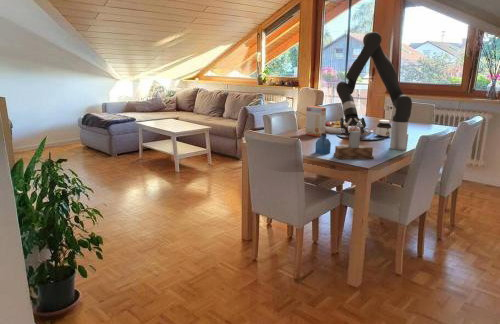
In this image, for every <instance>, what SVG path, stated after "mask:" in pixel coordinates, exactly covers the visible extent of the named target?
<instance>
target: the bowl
mask: <svg viewBox="0 0 500 324" xmlns="http://www.w3.org/2000/svg"><path fill="white" fill-rule="evenodd" d="M346 124H347V123H346V122H345V121H344V126H345V125H346ZM325 133H329V134H334V135H335V134H336V135H342V134H341V126H340V120H337V121H328V120H326V123H325Z"/></svg>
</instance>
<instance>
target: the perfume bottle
mask: <svg viewBox="0 0 500 324" xmlns="http://www.w3.org/2000/svg"><path fill="white" fill-rule="evenodd" d="M327 136H328V135H327V132H325V133H321V137H318V139H317V140H316V141H315V148H314V149H315V151H314V152H315V154H319V155H328V154H331V146H332V145H331V144H332V143H331V141H330V140H329V138H327Z"/></svg>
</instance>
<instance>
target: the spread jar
mask: <svg viewBox="0 0 500 324" xmlns="http://www.w3.org/2000/svg"><path fill="white" fill-rule="evenodd" d="M390 122H391V121H390V120H388V119H379V123H378V124H377V125H376V127H375V135H376V136H377V137H378V136H379V137H378V138H389V137H391V131H392V124H390Z"/></svg>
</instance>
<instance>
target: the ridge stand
mask: <svg viewBox="0 0 500 324" xmlns="http://www.w3.org/2000/svg"><path fill="white" fill-rule="evenodd" d="M373 150H374V147H372V146H371V145H359V148H351V147H349V145H335V149H334V153H333V156H334V157H335V158H336V159H337V160H374V159H375V157H374V155H373Z"/></svg>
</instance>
